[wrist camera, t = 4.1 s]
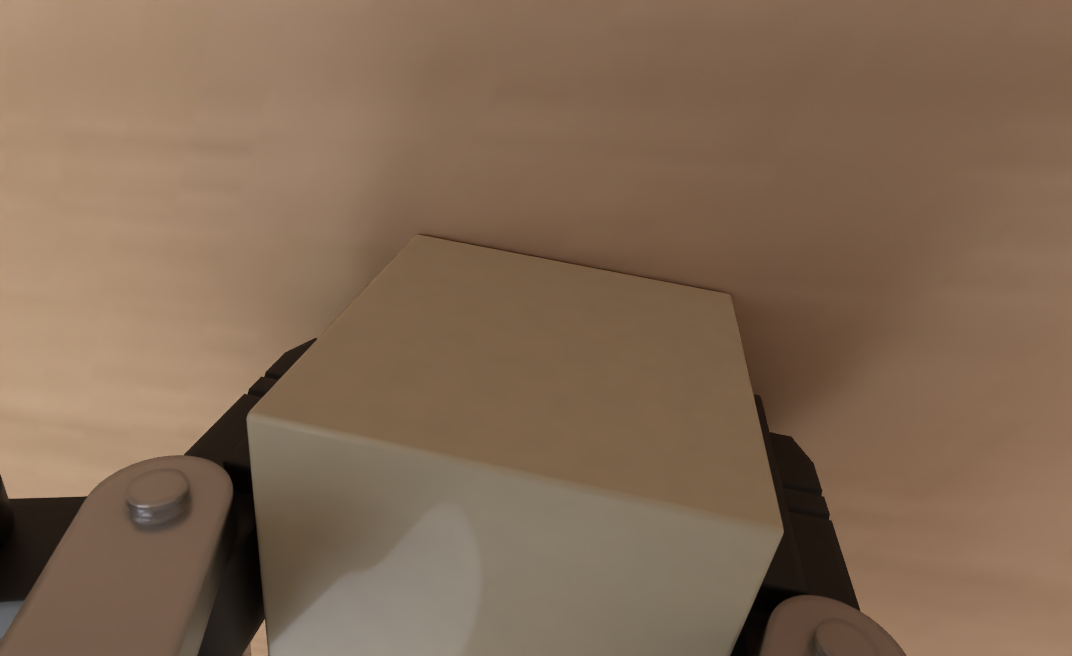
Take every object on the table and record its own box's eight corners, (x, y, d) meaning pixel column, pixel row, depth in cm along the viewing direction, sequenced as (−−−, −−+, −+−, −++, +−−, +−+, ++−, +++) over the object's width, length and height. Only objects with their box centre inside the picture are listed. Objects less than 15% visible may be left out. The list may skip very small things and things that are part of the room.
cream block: (403, 472, 12) (273, 726, 8) (414, 232, 9) (242, 413, 6) (658, 529, 11) (658, 825, 7) (732, 292, 9) (787, 531, 5)
